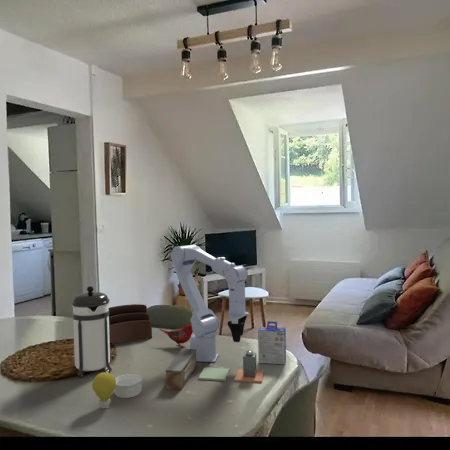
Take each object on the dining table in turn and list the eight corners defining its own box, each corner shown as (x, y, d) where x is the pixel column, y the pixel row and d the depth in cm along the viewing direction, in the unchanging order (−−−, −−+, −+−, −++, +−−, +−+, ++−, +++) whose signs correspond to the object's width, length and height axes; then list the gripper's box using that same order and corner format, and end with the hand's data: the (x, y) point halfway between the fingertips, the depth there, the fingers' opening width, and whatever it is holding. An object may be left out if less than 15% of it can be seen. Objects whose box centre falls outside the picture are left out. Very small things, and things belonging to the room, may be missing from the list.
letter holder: (102, 338, 189) (101, 307, 189) (147, 332, 197) (146, 302, 197) (105, 345, 180) (104, 312, 180) (152, 338, 188) (151, 306, 187)
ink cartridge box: (286, 359, 160) (286, 321, 159) (285, 365, 154) (285, 325, 154) (260, 358, 162) (259, 320, 161) (258, 363, 156) (257, 324, 155)
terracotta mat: (234, 381, 141) (234, 379, 141) (238, 370, 149) (238, 369, 149) (261, 382, 139) (261, 381, 139) (263, 372, 148) (263, 370, 148)
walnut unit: (165, 389, 136) (164, 370, 135) (182, 365, 156) (181, 348, 155) (182, 390, 135) (181, 371, 134) (197, 366, 155) (196, 349, 154)
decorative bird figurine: (193, 350, 171) (192, 326, 170) (157, 344, 180) (157, 320, 179) (196, 348, 173) (196, 324, 173) (161, 342, 182) (161, 319, 182)
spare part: (243, 377, 143) (242, 353, 142) (244, 372, 147) (244, 349, 146) (255, 377, 142) (254, 353, 141) (256, 372, 146) (256, 349, 145)
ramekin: (117, 401, 128) (116, 387, 127) (110, 390, 136) (110, 377, 135) (146, 395, 132) (145, 381, 131) (138, 384, 140) (138, 371, 139)
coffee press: (124, 364, 158) (122, 283, 156) (94, 380, 143) (91, 291, 142) (88, 358, 165) (85, 280, 163) (56, 373, 150) (53, 288, 149)
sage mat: (198, 379, 143) (198, 377, 143) (204, 369, 152) (204, 367, 151) (225, 380, 141) (225, 379, 141) (229, 370, 150) (229, 368, 150)
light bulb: (95, 402, 127) (94, 369, 127) (118, 401, 128) (117, 368, 127) (90, 413, 121) (89, 378, 120) (114, 411, 121) (113, 377, 121)
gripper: (245, 305, 144) (247, 345, 144) (250, 296, 158) (251, 332, 159) (225, 304, 145) (226, 344, 146) (231, 296, 159) (232, 332, 160)
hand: (238, 338), depth 152 cm, fingers open, 7 cm apart
